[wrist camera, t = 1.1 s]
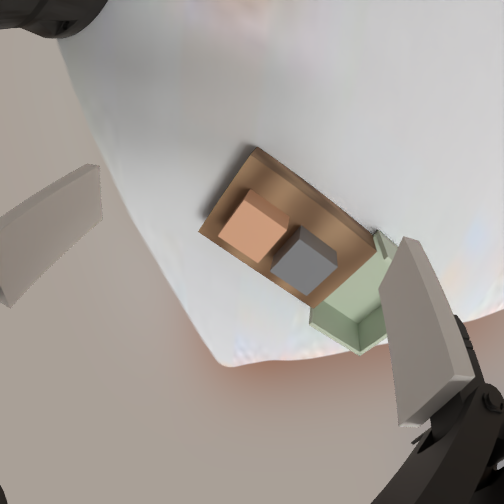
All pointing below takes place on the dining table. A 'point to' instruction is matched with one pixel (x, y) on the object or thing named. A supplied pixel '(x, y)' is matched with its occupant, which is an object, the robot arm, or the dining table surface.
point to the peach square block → (254, 226)
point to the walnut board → (293, 222)
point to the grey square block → (304, 261)
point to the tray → (357, 303)
